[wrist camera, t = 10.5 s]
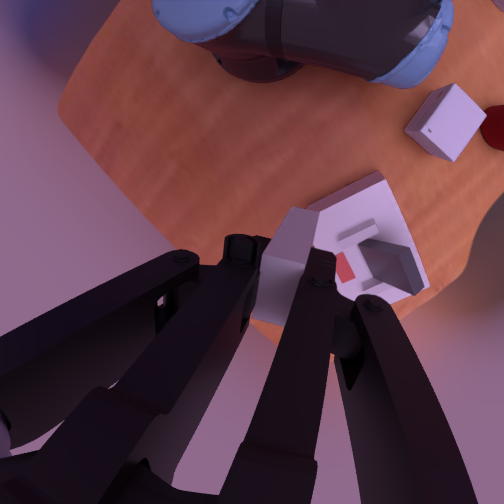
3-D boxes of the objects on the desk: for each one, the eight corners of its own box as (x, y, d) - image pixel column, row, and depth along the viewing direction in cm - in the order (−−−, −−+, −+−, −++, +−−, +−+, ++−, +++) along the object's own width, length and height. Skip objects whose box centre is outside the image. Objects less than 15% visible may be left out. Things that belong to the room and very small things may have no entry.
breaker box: (353, 293, 50) (353, 330, 41) (307, 205, 47) (297, 227, 38) (419, 264, 45) (434, 297, 36) (378, 170, 42) (388, 182, 33)
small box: (430, 155, 39) (453, 164, 30) (401, 130, 39) (418, 131, 30) (459, 116, 35) (489, 115, 26) (431, 90, 35) (455, 81, 26)
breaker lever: (370, 276, 39) (414, 295, 30) (355, 244, 38) (398, 255, 29) (379, 270, 39) (424, 287, 30) (364, 237, 38) (409, 247, 29)
